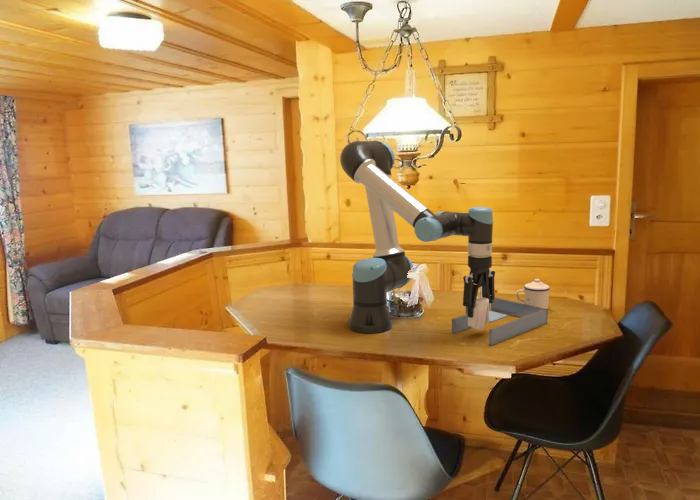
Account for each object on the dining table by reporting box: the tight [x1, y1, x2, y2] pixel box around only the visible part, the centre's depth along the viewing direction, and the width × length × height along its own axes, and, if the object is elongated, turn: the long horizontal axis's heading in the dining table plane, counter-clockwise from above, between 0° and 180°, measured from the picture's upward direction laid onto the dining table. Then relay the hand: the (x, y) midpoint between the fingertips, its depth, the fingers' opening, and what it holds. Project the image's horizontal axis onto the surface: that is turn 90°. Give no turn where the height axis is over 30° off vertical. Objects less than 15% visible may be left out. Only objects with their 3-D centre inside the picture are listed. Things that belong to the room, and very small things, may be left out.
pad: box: [489, 310, 509, 323], centre depth 201 cm, size 10×10×1 cm
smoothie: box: [471, 286, 489, 330], centre depth 180 cm, size 6×6×14 cm
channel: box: [451, 296, 549, 346], centre depth 190 cm, size 32×23×5 cm
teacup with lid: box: [515, 278, 551, 310], centre depth 207 cm, size 12×9×12 cm
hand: (478, 323), depth 181 cm, fingers closed on smoothie, 6 cm apart
